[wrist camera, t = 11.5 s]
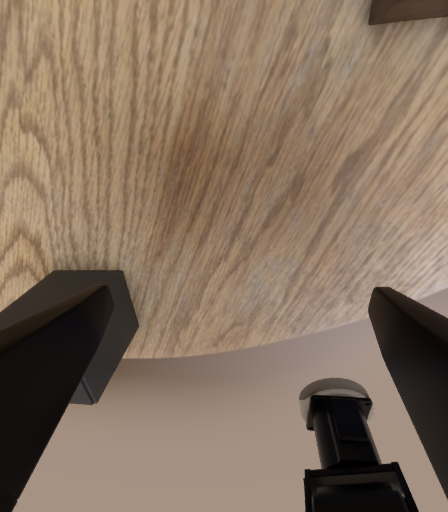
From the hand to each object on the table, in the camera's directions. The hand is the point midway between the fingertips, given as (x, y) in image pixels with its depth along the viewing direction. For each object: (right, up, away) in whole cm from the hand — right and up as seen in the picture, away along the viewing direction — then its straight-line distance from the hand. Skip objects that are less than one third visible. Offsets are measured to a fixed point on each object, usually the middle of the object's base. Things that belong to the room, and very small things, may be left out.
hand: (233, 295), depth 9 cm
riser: (-13, -3, +17) cm, 22 cm away
